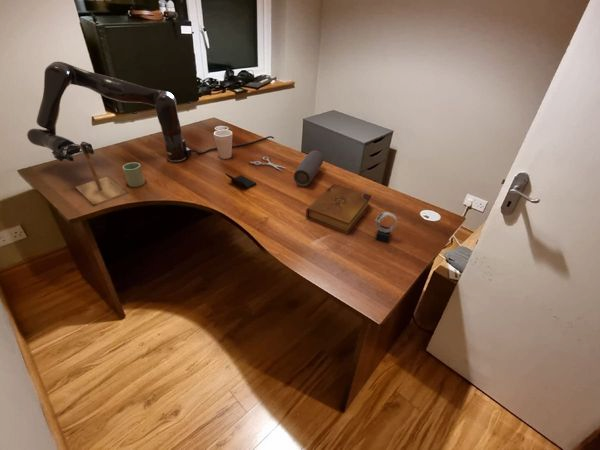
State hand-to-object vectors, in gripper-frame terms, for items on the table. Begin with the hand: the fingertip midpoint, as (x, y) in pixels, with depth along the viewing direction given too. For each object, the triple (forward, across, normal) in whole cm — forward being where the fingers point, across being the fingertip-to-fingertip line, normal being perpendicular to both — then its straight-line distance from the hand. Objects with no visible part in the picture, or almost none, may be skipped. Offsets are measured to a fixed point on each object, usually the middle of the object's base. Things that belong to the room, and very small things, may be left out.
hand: (82, 155), depth 139 cm
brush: (+4, 0, +15) cm, 16 cm away
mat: (+4, 0, +16) cm, 16 cm away
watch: (+121, +41, +16) cm, 129 cm away
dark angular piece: (+51, +40, +16) cm, 67 cm away
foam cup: (+25, +58, +16) cm, 65 cm away
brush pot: (+11, +13, +16) cm, 23 cm away
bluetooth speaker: (+74, +65, +16) cm, 99 cm away
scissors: (+51, +64, +16) cm, 83 cm away
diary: (+100, +46, +16) cm, 111 cm away
